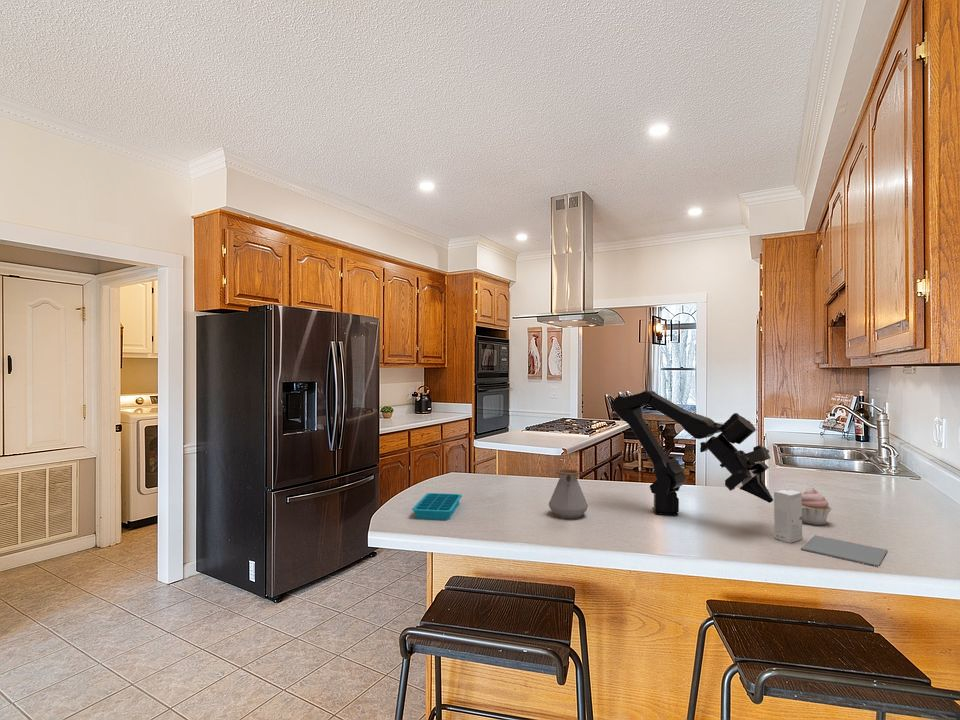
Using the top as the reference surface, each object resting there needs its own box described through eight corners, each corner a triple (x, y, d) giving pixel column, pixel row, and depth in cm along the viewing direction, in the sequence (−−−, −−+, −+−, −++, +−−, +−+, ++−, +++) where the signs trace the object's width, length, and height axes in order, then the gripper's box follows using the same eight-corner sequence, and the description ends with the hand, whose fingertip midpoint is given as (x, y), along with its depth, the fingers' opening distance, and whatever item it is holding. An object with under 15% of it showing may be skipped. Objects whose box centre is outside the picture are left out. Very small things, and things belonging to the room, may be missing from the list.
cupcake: (818, 529, 141) (818, 492, 142) (786, 519, 150) (786, 485, 150) (839, 524, 145) (839, 489, 146) (806, 516, 154) (806, 482, 154)
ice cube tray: (410, 520, 148) (411, 509, 148) (427, 502, 168) (427, 492, 168) (450, 522, 146) (451, 511, 146) (462, 503, 166) (462, 494, 166)
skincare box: (791, 543, 130) (791, 495, 130) (773, 538, 133) (773, 491, 133) (803, 539, 133) (803, 492, 133) (785, 534, 137) (785, 488, 137)
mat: (800, 549, 125) (800, 548, 125) (814, 536, 135) (814, 535, 135) (878, 567, 114) (878, 565, 114) (887, 551, 124) (887, 549, 124)
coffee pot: (549, 508, 160) (549, 460, 160) (587, 510, 158) (587, 461, 158) (546, 529, 139) (546, 474, 139) (590, 532, 137) (590, 475, 137)
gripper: (737, 439, 133) (785, 489, 125) (760, 433, 147) (805, 477, 139) (706, 465, 139) (751, 515, 131) (731, 457, 152) (773, 502, 144)
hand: (771, 501), depth 136 cm, fingers closed
